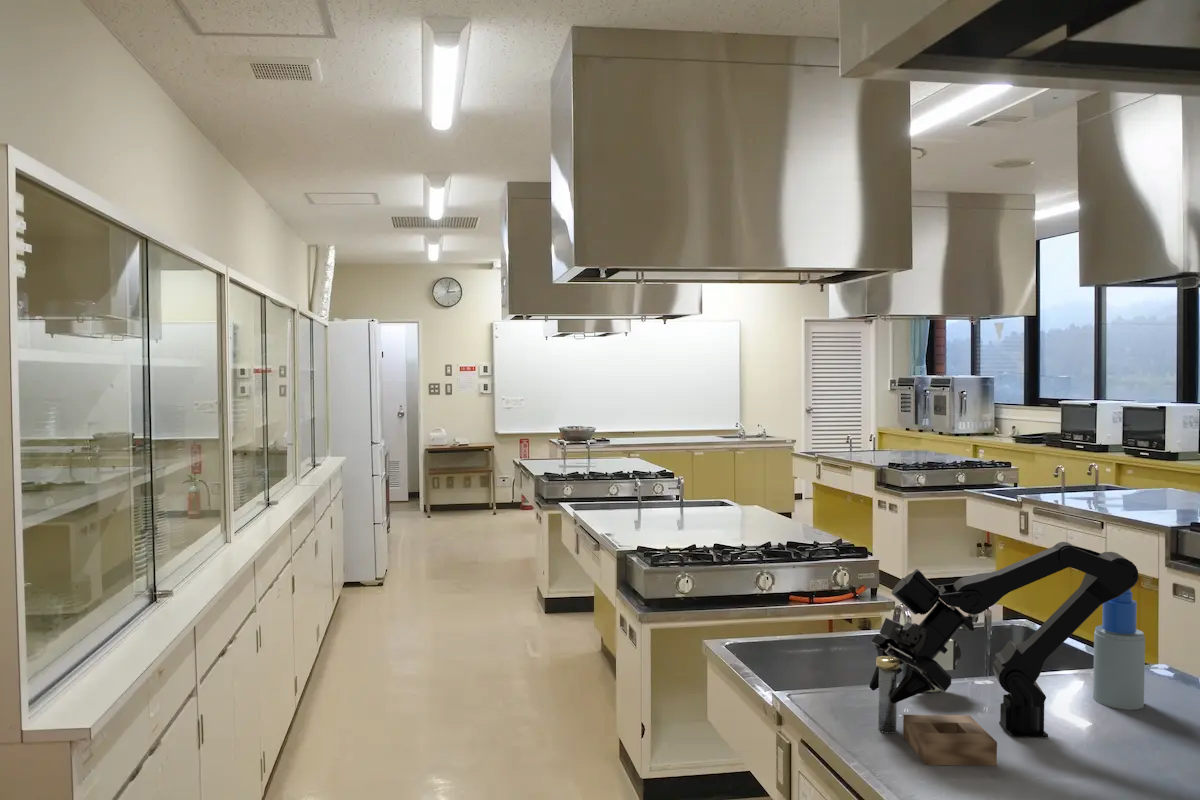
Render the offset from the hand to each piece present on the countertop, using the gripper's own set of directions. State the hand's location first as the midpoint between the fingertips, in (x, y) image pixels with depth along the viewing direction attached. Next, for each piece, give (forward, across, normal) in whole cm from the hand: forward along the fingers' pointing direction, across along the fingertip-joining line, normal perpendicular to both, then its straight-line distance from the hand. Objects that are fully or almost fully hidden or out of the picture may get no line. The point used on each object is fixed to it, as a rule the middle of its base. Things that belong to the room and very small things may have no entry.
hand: (880, 695), depth 167 cm
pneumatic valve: (-10, -17, +20) cm, 29 cm away
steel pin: (+4, 0, +6) cm, 7 cm away
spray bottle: (-34, -2, +44) cm, 55 cm away
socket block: (0, +11, +10) cm, 14 cm away
